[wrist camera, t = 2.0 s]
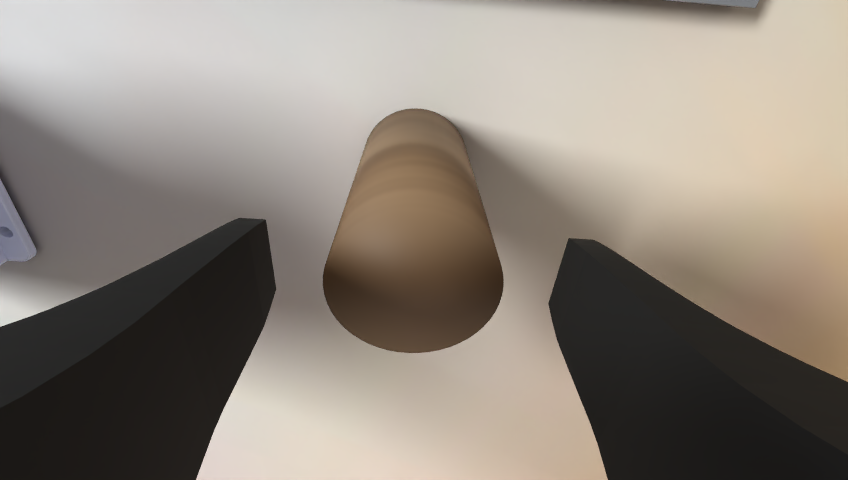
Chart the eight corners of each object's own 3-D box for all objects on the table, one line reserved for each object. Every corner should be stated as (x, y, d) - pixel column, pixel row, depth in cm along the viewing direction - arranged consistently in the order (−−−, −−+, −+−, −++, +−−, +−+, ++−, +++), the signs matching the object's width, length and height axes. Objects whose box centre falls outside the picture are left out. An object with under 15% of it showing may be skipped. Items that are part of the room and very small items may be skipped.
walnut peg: (459, 209, 17) (488, 356, 10) (363, 203, 17) (327, 349, 10) (473, 112, 15) (519, 216, 8) (363, 104, 15) (317, 203, 8)
